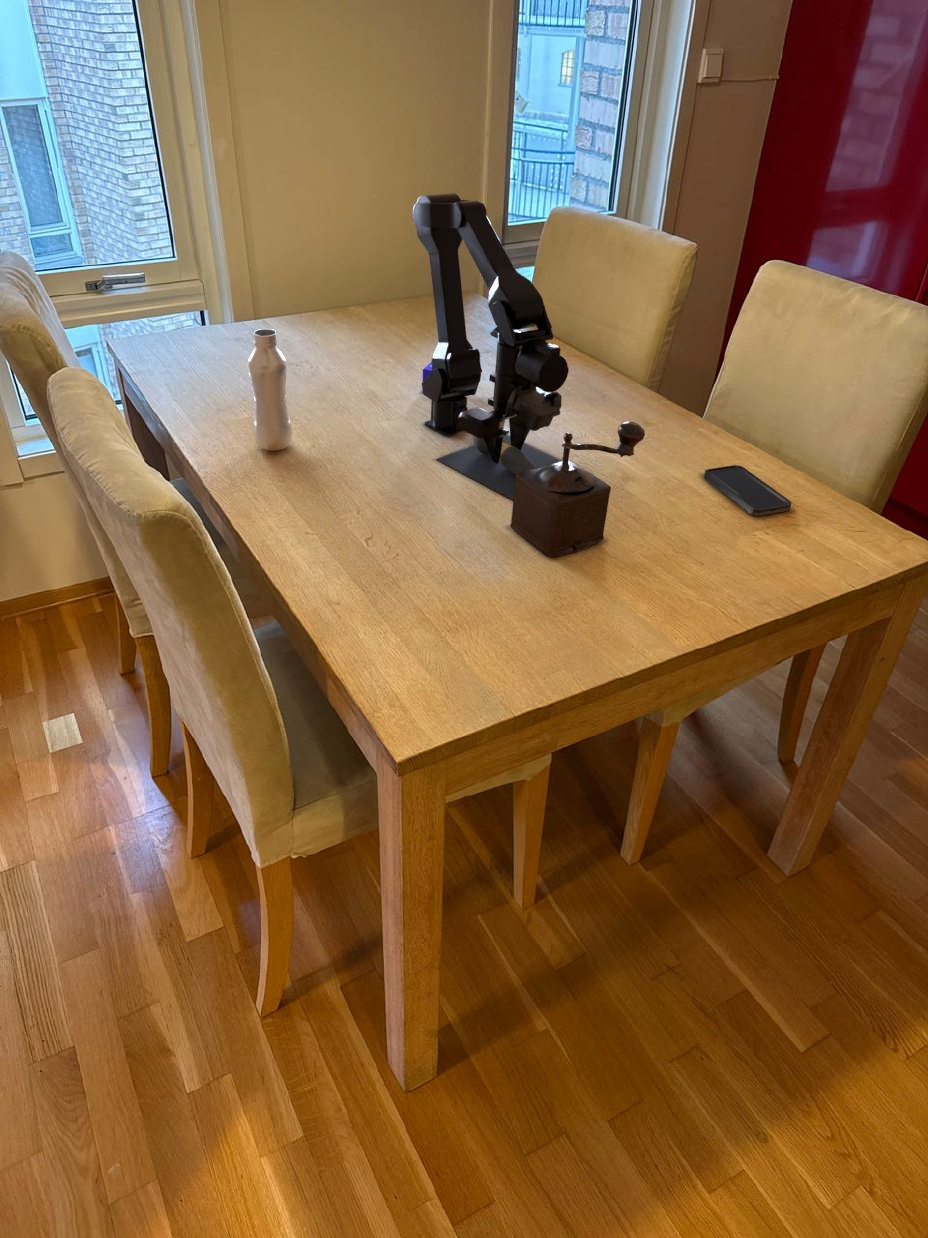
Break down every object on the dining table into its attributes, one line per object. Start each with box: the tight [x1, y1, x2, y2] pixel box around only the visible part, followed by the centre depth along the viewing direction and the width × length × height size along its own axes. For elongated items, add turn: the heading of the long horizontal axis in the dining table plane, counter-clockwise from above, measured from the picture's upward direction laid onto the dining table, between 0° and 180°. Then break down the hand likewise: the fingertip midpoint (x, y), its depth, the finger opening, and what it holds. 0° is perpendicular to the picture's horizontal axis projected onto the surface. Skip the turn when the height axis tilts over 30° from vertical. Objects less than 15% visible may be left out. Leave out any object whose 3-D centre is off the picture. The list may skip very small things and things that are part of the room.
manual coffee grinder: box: [510, 420, 646, 559], centre depth 132 cm, size 16×11×18 cm
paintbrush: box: [472, 435, 537, 474], centre depth 153 cm, size 20×5×5 cm, turn 40°
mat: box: [435, 434, 562, 502], centre depth 154 cm, size 20×17×1 cm
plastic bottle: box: [247, 328, 293, 451], centre depth 150 cm, size 6×7×20 cm
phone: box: [703, 464, 793, 517], centre depth 150 cm, size 8×1×15 cm
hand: (505, 458), depth 154 cm, fingers closed on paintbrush, 4 cm apart
